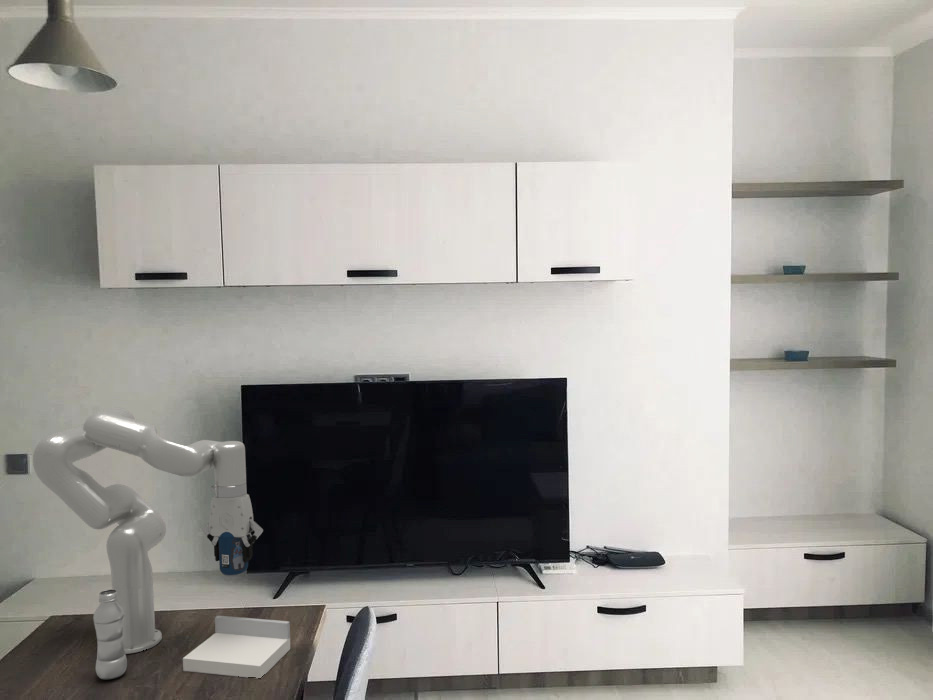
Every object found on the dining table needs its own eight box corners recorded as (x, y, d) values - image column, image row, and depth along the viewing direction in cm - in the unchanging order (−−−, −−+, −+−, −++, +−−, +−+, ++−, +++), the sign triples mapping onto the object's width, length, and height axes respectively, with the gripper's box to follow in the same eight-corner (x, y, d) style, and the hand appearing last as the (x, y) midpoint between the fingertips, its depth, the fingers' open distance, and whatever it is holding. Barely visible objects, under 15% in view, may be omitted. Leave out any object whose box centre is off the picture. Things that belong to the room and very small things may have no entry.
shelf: (183, 670, 170) (182, 641, 169) (218, 642, 184) (217, 615, 184) (260, 678, 165) (259, 649, 165) (290, 648, 180) (289, 621, 180)
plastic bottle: (115, 684, 164) (111, 598, 163) (89, 682, 165) (85, 596, 164) (133, 670, 170) (130, 587, 169) (108, 668, 171) (105, 586, 170)
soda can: (231, 566, 187) (229, 520, 186) (254, 568, 185) (252, 522, 184) (213, 575, 180) (211, 528, 180) (237, 578, 178) (235, 530, 178)
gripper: (191, 493, 179) (194, 563, 180) (256, 495, 176) (258, 566, 177) (207, 486, 187) (209, 553, 188) (269, 487, 184) (272, 556, 185)
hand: (233, 559), depth 182 cm, fingers closed on soda can, 7 cm apart
